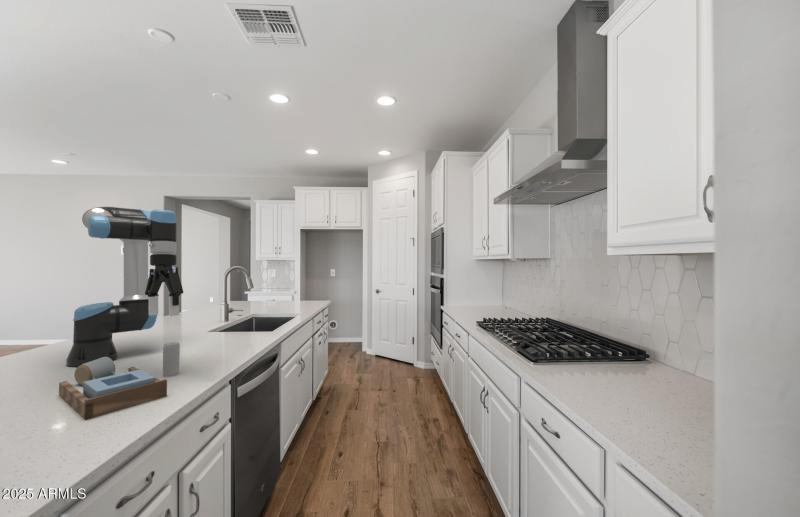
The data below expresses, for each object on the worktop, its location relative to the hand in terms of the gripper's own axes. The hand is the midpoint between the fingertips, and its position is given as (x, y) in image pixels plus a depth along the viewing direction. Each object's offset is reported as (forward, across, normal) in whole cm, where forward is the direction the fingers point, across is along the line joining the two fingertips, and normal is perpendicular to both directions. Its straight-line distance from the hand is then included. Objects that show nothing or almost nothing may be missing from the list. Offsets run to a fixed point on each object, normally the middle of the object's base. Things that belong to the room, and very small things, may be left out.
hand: (163, 315), depth 114 cm
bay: (+23, +3, -15) cm, 28 cm away
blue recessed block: (+22, +9, -16) cm, 29 cm away
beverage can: (+23, -2, +4) cm, 23 cm away
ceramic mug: (+22, -18, -11) cm, 30 cm away
